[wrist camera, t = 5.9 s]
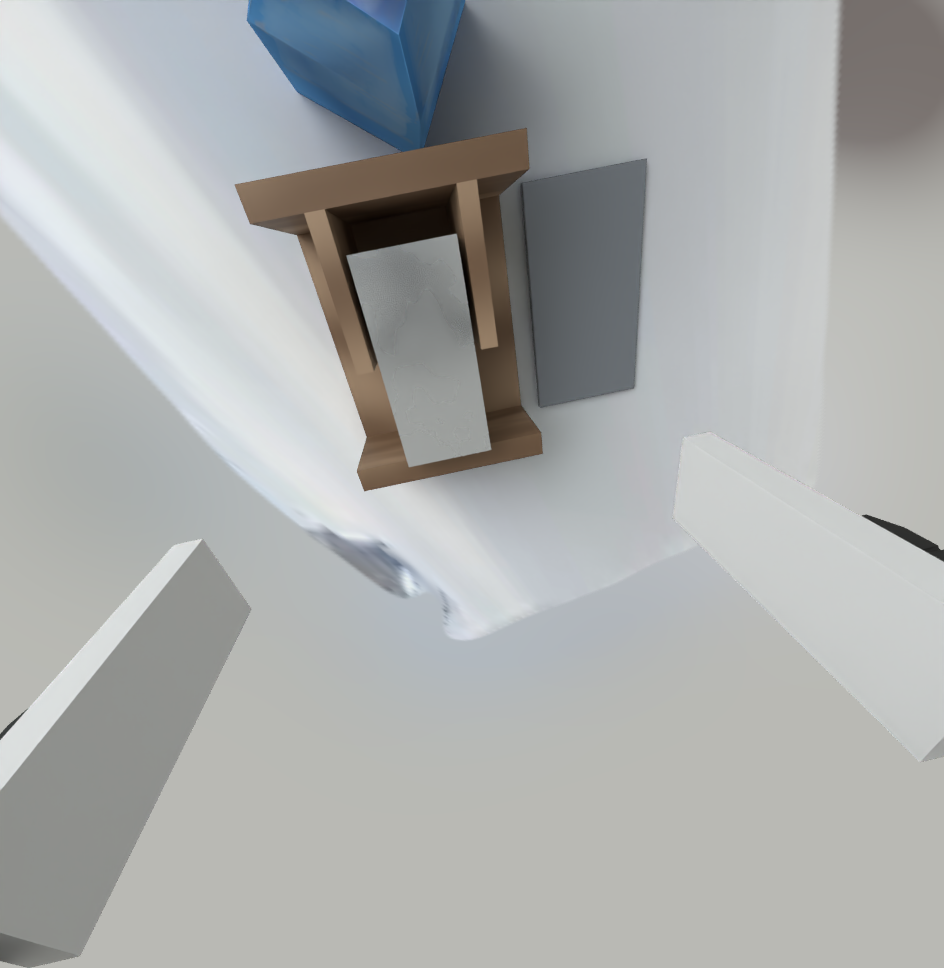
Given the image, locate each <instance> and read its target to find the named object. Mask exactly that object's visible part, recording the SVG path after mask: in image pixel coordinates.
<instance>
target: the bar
mask: <svg viewBox="0 0 944 968" xmlns="http://www.w3.org/2000/svg"><path fill="white" fill-rule="evenodd" d="M346 256H347V260H348V263H349V266H350V270H351V273H352V277H353V280H354V283H355V287H356V290H357V294H358V297H359V300H360V304H361V307H362V310H363V314H364V317H365V321H366V324H367V327H368V331H369V334H370V338H371V341H372V344H373V348H374V351H375V354H376V358H377V361H378V365H379V368H380V371H381V375H382V378H383V382H384V385H385V388H386V392H387V395H388V398H389V402H390V405H391V409H392V412H393V415H394V419H395V422H396V426H397V429H398V432H399V436H400V439H401V442H402V446H403V449H404V453H405V456H406V459H407V463H408V466H409V467H413V466H418V465H422V464H427V463H432V462H437V461H441V460H446V459H451V458H456V457H460V456H465V455H470V454H475V453H480V452H484V451H489V450H491V445H490V439H489V432H488V426H487V420H486V414H485V407H484V401H483V395H482V388H481V382H480V376H479V370H478V363H477V357H476V351H475V345H474V338H473V332H472V326H471V320H470V313H469V307H468V301H467V295H466V288H465V282H464V276H463V270H462V263H461V257H460V251H459V244H458V238H457V234H452V235H447V236H442V237H437V238H432V239H427V240H422V241H417V242H412V243H407V244H402V245H397V246H392V247H387V248H382V249H377V250H372V251H367V252H362V253H357V254H351V255H346Z"/></svg>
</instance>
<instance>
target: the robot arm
mask: <svg viewBox="0 0 944 968" xmlns="http://www.w3.org/2000/svg"><path fill="white" fill-rule="evenodd" d="M672 519H673V520H674V521H675V522H677V523H678V524H679V525H680V526H681V527H682V528H683V529H684V530H685V531H686V532H687V533H688V534H689V535H690V536H691V537H692V538H693V539H694V540H695V541H696V542H697V543H698V544H699V545H700V546H701V547H702V548H703V549H704V550H705V551H706V552H707V553H708V554H709V555H710V556H711V557H712V558H713V559H714V560H715V561H716V562H717V563H718V564H719V565H720V566H721V567H722V568H723V569H724V570H725V571H726V572H727V573H728V574H729V575H730V576H731V577H732V578H733V579H734V580H736V582H738V584H739V585H741V587H743V588H744V589H745V590H746V591H747V592H748V593H749V594H750V595H751V596H752V597H753V598H754V599H755V600H756V601H757V602H758V603H759V604H760V605H761V606H762V607H763V608H764V609H765V610H766V611H767V612H768V613H769V614H770V615H771V616H772V617H773V618H774V619H775V620H776V621H777V622H778V623H779V624H780V625H781V626H782V627H783V628H784V629H785V630H786V631H787V632H788V633H789V634H790V635H791V636H792V637H793V638H795V640H796V641H798V643H799V644H800V645H801V646H802V647H804V649H806V650H807V651H808V652H809V653H810V654H811V655H812V656H813V657H814V658H815V659H816V660H817V661H818V662H819V663H820V664H821V665H822V666H823V667H824V668H825V669H826V670H827V671H828V672H829V673H830V674H831V675H832V676H833V677H834V678H835V679H836V680H837V681H838V682H839V683H840V684H841V685H842V686H843V687H844V688H845V689H846V690H847V691H848V692H849V693H850V694H851V695H852V696H853V697H854V698H855V699H856V700H857V701H858V702H859V703H860V704H861V705H862V706H863V707H865V709H866V710H868V712H869V713H870V714H871V715H872V716H873V717H875V718H876V719H877V720H878V721H879V722H880V723H881V724H882V725H883V726H884V727H885V728H886V729H887V730H888V731H889V732H890V733H891V734H892V735H893V736H894V737H895V738H896V739H897V740H898V741H899V742H900V743H901V744H902V745H903V746H904V747H905V748H906V749H907V750H908V751H909V752H910V753H911V754H912V755H913V756H914V757H915V758H916V759H917V760H918V761H919V762H923V761H927V760H932V759H936V758H940V757H944V550H940V549H939V548H938V545H936V544H934V543H932V542H930V541H929V540H926V539H925V538H923V537H921V536H919V535H917V534H915V533H913V532H912V531H910V530H908V529H906V528H904V527H901V526H898V525H895V524H892V523H889V522H886V521H884V520H881V519H878V518H875V517H872V516H869V515H862V516H861V515H859V514H857V513H855V512H853V511H852V510H850V509H848V508H846V507H844V506H843V505H841V504H839V503H837V502H836V501H834V500H832V499H830V498H828V497H826V496H825V495H823V494H821V493H819V492H817V491H816V490H814V489H812V488H810V487H809V486H807V485H805V484H803V483H801V482H800V481H798V480H796V479H794V478H792V477H791V476H789V475H787V474H785V473H784V472H782V471H780V470H778V469H776V468H775V467H773V466H771V465H769V464H767V463H766V462H764V461H762V460H760V459H758V458H757V457H755V456H753V455H751V454H749V453H748V452H746V451H744V450H742V449H741V448H739V447H737V446H735V445H733V444H732V443H730V442H728V441H726V440H724V439H723V438H721V437H719V436H717V435H715V434H714V433H712V432H706V433H701V434H696V435H691V436H687V437H683V440H682V448H681V455H680V463H679V471H678V479H677V487H676V494H675V502H674V510H673V518H672ZM250 611H251V608H250V606H249V605H248V603H247V602H246V600H245V599H244V598H243V596H242V595H241V593H240V592H239V590H238V589H237V587H236V586H235V584H234V583H233V582H232V580H231V579H230V577H229V576H228V574H227V573H226V571H225V570H224V569H223V567H222V566H221V564H220V563H219V561H218V560H217V558H216V557H215V556H214V554H213V553H212V551H211V550H210V548H209V547H208V546H207V544H206V543H205V541H204V540H203V539H200V540H195V541H190V542H185V543H181V544H176V545H174V546H173V547H172V548H171V549H170V550H169V551H168V552H167V553H166V555H165V556H164V557H163V558H162V559H161V560H160V561H159V562H158V564H157V565H156V566H155V567H154V568H153V569H152V570H151V571H150V573H149V574H148V575H147V576H146V577H145V578H144V579H143V580H142V582H141V583H140V584H139V585H138V586H137V587H136V588H135V589H134V591H133V592H132V593H131V594H130V595H129V596H128V598H126V599H125V601H124V602H123V603H122V604H121V605H120V606H119V607H118V608H117V610H116V611H115V612H114V613H113V614H112V615H111V616H110V617H109V619H108V620H107V621H106V622H105V623H104V624H103V625H102V626H101V628H100V629H99V630H98V631H97V632H96V633H95V634H94V635H93V637H92V638H91V639H90V640H89V641H88V642H87V643H86V644H85V646H84V647H83V648H82V649H81V650H80V651H79V652H78V653H77V655H76V656H75V657H74V658H73V659H72V660H71V661H70V662H69V663H68V665H67V666H66V667H65V668H64V669H63V670H62V671H61V672H60V674H59V675H58V676H57V677H56V678H55V679H54V680H53V681H52V683H51V684H50V685H49V686H48V687H47V688H46V690H44V692H43V693H42V694H41V695H40V696H39V697H38V698H37V699H36V701H35V702H34V703H33V704H32V705H31V706H30V707H29V708H28V709H27V710H26V711H25V712H23V713H22V714H21V715H20V716H18V717H17V718H16V719H15V720H14V721H13V722H11V723H10V724H9V725H8V726H7V727H6V728H5V729H4V730H3V732H2V733H1V734H0V961H3V962H7V963H11V964H15V965H19V966H23V967H27V968H30V967H35V966H39V965H43V964H48V963H52V962H57V961H61V960H66V959H70V958H74V957H78V956H80V955H81V953H82V951H83V949H84V947H85V945H86V943H87V941H88V939H89V937H90V935H91V933H92V931H93V929H94V927H95V925H96V923H97V921H98V919H99V917H100V915H101V913H102V911H103V909H104V907H105V905H106V903H107V900H108V899H109V897H110V895H111V892H112V891H113V889H114V887H115V884H116V882H117V881H118V878H119V876H120V874H121V872H122V870H123V868H124V866H125V864H126V862H127V860H128V858H129V856H130V854H131V852H132V850H133V848H134V846H135V844H136V842H137V840H138V838H139V836H140V834H141V832H142V830H143V828H144V826H145V824H146V822H147V820H148V818H149V816H150V814H151V812H152V810H153V808H154V806H155V804H156V802H157V800H158V797H159V796H160V793H161V791H162V789H163V787H164V785H165V783H166V781H167V779H168V777H169V775H170V773H171V771H172V769H173V767H174V765H175V763H176V761H177V759H178V757H179V755H180V753H181V751H182V749H183V747H184V745H185V743H186V741H187V739H188V737H189V735H190V733H191V731H192V729H193V727H194V725H195V723H196V720H197V719H198V717H199V714H200V713H201V710H202V708H203V706H204V704H205V702H206V700H207V698H208V696H209V694H210V692H211V690H212V688H213V686H214V684H215V682H216V680H217V678H218V676H219V674H220V672H221V670H222V668H223V666H224V664H225V662H226V660H227V658H228V656H229V654H230V652H231V650H232V648H233V646H234V644H235V642H236V640H237V638H238V636H239V634H240V632H241V629H242V628H243V625H244V623H245V621H246V619H247V617H248V615H249V613H250Z"/></svg>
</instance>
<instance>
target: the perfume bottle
mask: <svg viewBox="0 0 944 968" xmlns="http://www.w3.org/2000/svg"><path fill="white" fill-rule="evenodd" d="M464 4H465V0H249V4H248V14H247V21H248V23H249V24H250V26H251V27H252V28H253V30H254V31H255V33H256V34H257V36H258V37H259V38H260V40H261V41H262V43H263V44H264V46H265V47H266V48H267V50H268V51H269V53H270V54H271V55H272V57H273V58H274V60H275V61H276V63H277V64H278V65H279V67H280V68H281V70H282V71H283V72H284V74H285V75H286V77H287V78H288V80H289V81H290V82H291V84H292V85H293V87H294V88H295V90H296V91H297V92H298V93H300V94H302V95H303V96H305V97H307V98H309V99H310V100H312V101H314V102H316V103H317V104H319V105H321V106H323V107H325V108H326V109H328V110H330V111H332V112H333V113H335V114H337V115H339V116H340V117H342V118H344V119H346V120H348V121H349V122H351V123H353V124H355V125H356V126H358V127H360V128H362V129H363V130H365V131H367V132H369V133H371V134H372V135H374V136H376V137H378V138H379V139H381V140H383V141H385V142H386V143H388V144H390V145H392V146H394V147H395V148H397V149H399V150H401V151H402V152H405V151H410V150H416V149H421V148H424V146H425V142H426V138H427V135H428V131H429V128H430V124H431V121H432V117H433V114H434V110H435V107H436V103H437V99H438V96H439V92H440V89H441V85H442V82H443V78H444V75H445V71H446V67H447V64H448V60H449V57H450V53H451V50H452V46H453V43H454V39H455V36H456V32H457V28H458V25H459V21H460V18H461V14H462V11H463V7H464Z"/></svg>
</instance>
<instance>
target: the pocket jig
mask: <svg viewBox="0 0 944 968" xmlns="http://www.w3.org/2000/svg"><path fill="white" fill-rule="evenodd" d="M528 170H529V155H528V141H527V128H524V129H519V130H513V131H508V132H503V133H498V134H493V135H488V136H483V137H477V138H472V139H467V140H462V141H457V142H452V143H446V144H441V145H436V146H431V147H426V148H421V149H416V150H410V151H405V152H400V153H395V154H390V155H385V156H380V157H374V158H369V159H364V160H359V161H354V162H349V163H344V164H338V165H333V166H328V167H323V168H318V169H313V170H308V171H302V172H297V173H292V174H287V175H282V176H277V177H271V178H266V179H261V180H256V181H251V182H246V183H241V184H235V187H236V189H237V192H238V195H239V197H240V200H241V202H242V205H243V207H244V210H245V212H246V215H247V217H248V220H249V222H250V224H253V225H257V226H261V227H265V228H269V229H273V230H278V231H282V232H286V233H290V234H294V235H297V236H298V239H299V242H300V245H301V248H302V251H303V254H304V257H305V260H306V262H307V265H308V268H309V271H310V274H311V277H312V280H313V283H314V286H315V289H316V291H317V294H318V297H319V300H320V303H321V306H322V309H323V312H324V315H325V317H326V320H327V323H328V326H329V329H330V332H331V335H332V338H333V341H334V343H335V346H336V349H337V352H338V355H339V358H340V361H341V364H342V367H343V370H344V372H345V375H346V378H347V381H348V384H349V387H350V390H351V393H352V396H353V398H354V401H355V404H356V407H357V410H358V413H359V416H360V419H361V422H362V425H363V427H364V430H365V433H366V436H367V439H366V442H365V445H364V449H363V452H362V455H361V459H360V462H359V465H358V469H357V473H358V476H359V478H360V481H361V484H362V486H363V489H364V491H368V490H372V489H377V488H382V487H387V486H391V485H396V484H401V483H406V482H410V481H415V480H420V479H425V478H429V477H434V476H439V475H444V474H448V473H453V472H458V471H463V470H467V469H472V468H477V467H482V466H486V465H491V464H496V463H501V462H505V461H510V460H515V459H520V458H524V457H529V456H534V455H539V454H543V451H542V438H541V432H540V430H539V429H538V428H537V426H536V425H535V424H534V422H533V421H532V420H531V418H530V417H529V415H528V414H527V413H526V411H525V410H524V409H523V407H522V406H521V400H520V390H519V381H518V371H517V362H516V353H515V343H514V334H513V324H512V315H511V305H510V296H509V287H508V277H507V268H506V258H505V249H504V239H503V230H502V221H501V211H500V202H499V195H500V194H501V193H502V192H503V191H505V190H506V189H507V188H508V187H509V186H510V185H511V184H513V183H514V182H515V181H516V180H517V179H518V178H520V177H521V176H522V175H523V174H524V173H525V172H526V171H528ZM452 234H457V238H458V244H459V251H460V257H461V263H462V270H463V276H464V282H465V288H466V295H467V301H468V307H469V313H470V320H471V326H472V332H473V338H474V345H475V351H476V357H477V363H478V370H479V376H480V382H481V388H482V395H483V401H484V407H485V414H486V420H487V426H488V432H489V439H490V445H491V450H489V451H484V452H480V453H475V454H470V455H465V456H460V457H456V458H451V459H446V460H441V461H437V462H432V463H427V464H422V465H418V466H413V467H409V466H408V463H407V459H406V456H405V453H404V449H403V446H402V442H401V439H400V436H399V432H398V429H397V426H396V422H395V419H394V415H393V412H392V409H391V405H390V402H389V398H388V395H387V392H386V388H385V385H384V382H383V378H382V375H381V371H380V368H379V365H378V361H377V358H376V354H375V351H374V348H373V344H372V341H371V338H370V334H369V331H368V327H367V324H366V321H365V317H364V314H363V310H362V307H361V304H360V300H359V297H358V294H357V290H356V287H355V283H354V280H353V277H352V273H351V270H350V266H349V263H348V260H347V256H346V255H351V254H357V253H362V252H367V251H372V250H377V249H382V248H387V247H392V246H397V245H402V244H407V243H412V242H417V241H422V240H427V239H432V238H437V237H442V236H447V235H452Z"/></svg>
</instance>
